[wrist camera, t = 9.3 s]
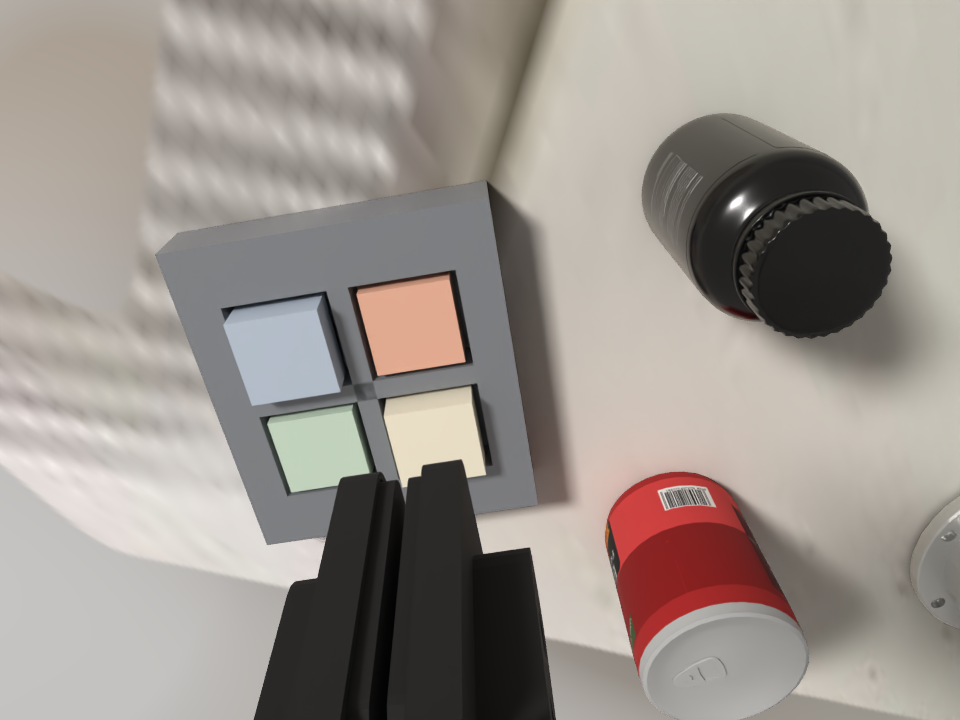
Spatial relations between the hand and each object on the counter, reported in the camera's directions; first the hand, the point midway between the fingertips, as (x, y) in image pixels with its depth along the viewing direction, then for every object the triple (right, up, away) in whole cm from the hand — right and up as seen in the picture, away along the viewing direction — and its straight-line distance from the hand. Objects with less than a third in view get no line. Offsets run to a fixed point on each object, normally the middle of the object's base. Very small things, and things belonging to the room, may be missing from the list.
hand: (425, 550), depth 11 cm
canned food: (+12, -7, +35) cm, 37 cm away
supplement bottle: (+12, +11, +25) cm, 30 cm away
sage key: (-7, -1, +30) cm, 31 cm away
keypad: (-5, +3, +29) cm, 30 cm away
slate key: (-8, +4, +26) cm, 28 cm away
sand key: (-1, -1, +28) cm, 28 cm away
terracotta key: (-2, +5, +27) cm, 27 cm away
